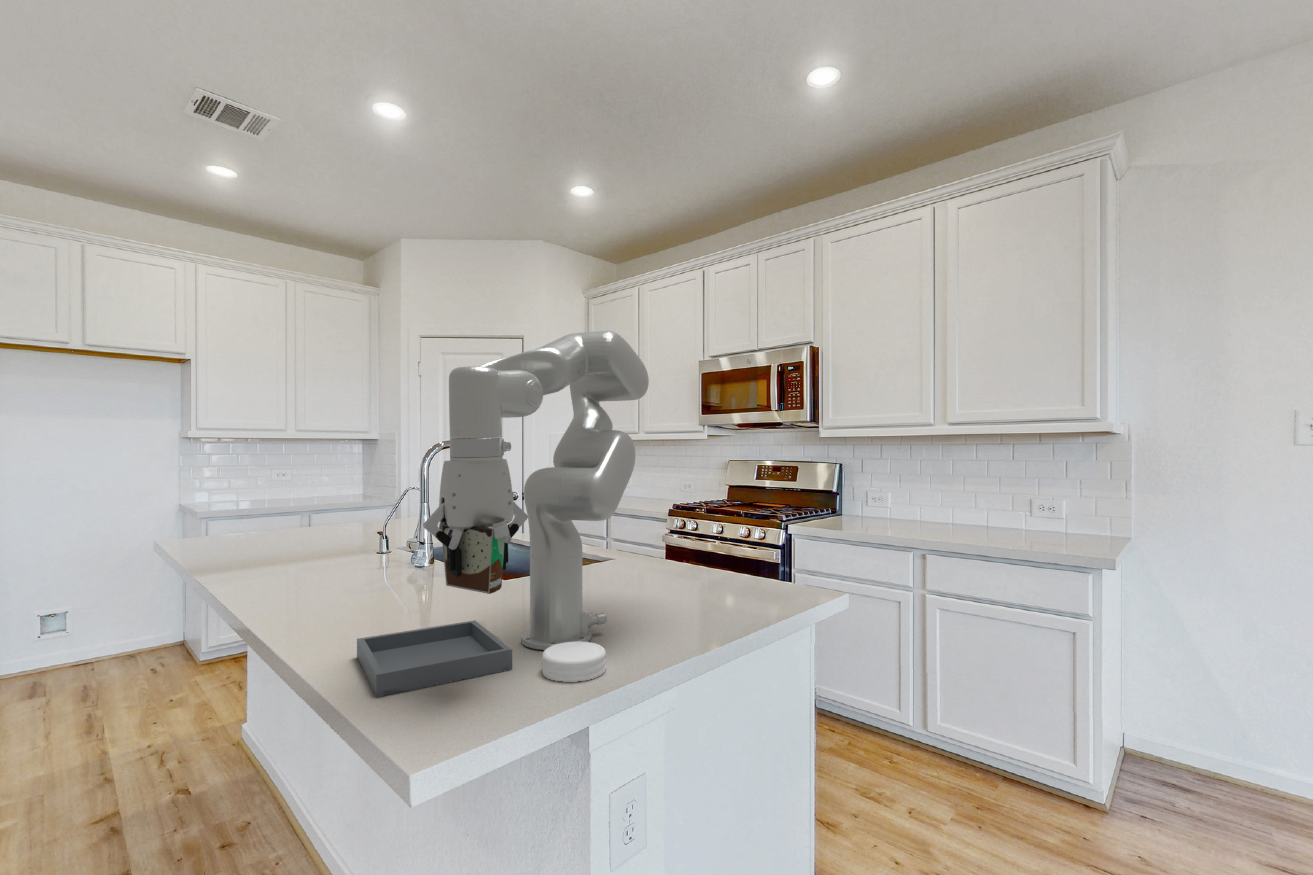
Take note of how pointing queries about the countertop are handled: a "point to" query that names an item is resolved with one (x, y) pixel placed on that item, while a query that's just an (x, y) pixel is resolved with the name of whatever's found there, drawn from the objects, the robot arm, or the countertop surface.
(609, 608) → the countertop surface
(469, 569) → the food container
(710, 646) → the countertop surface
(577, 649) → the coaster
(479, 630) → the tray
